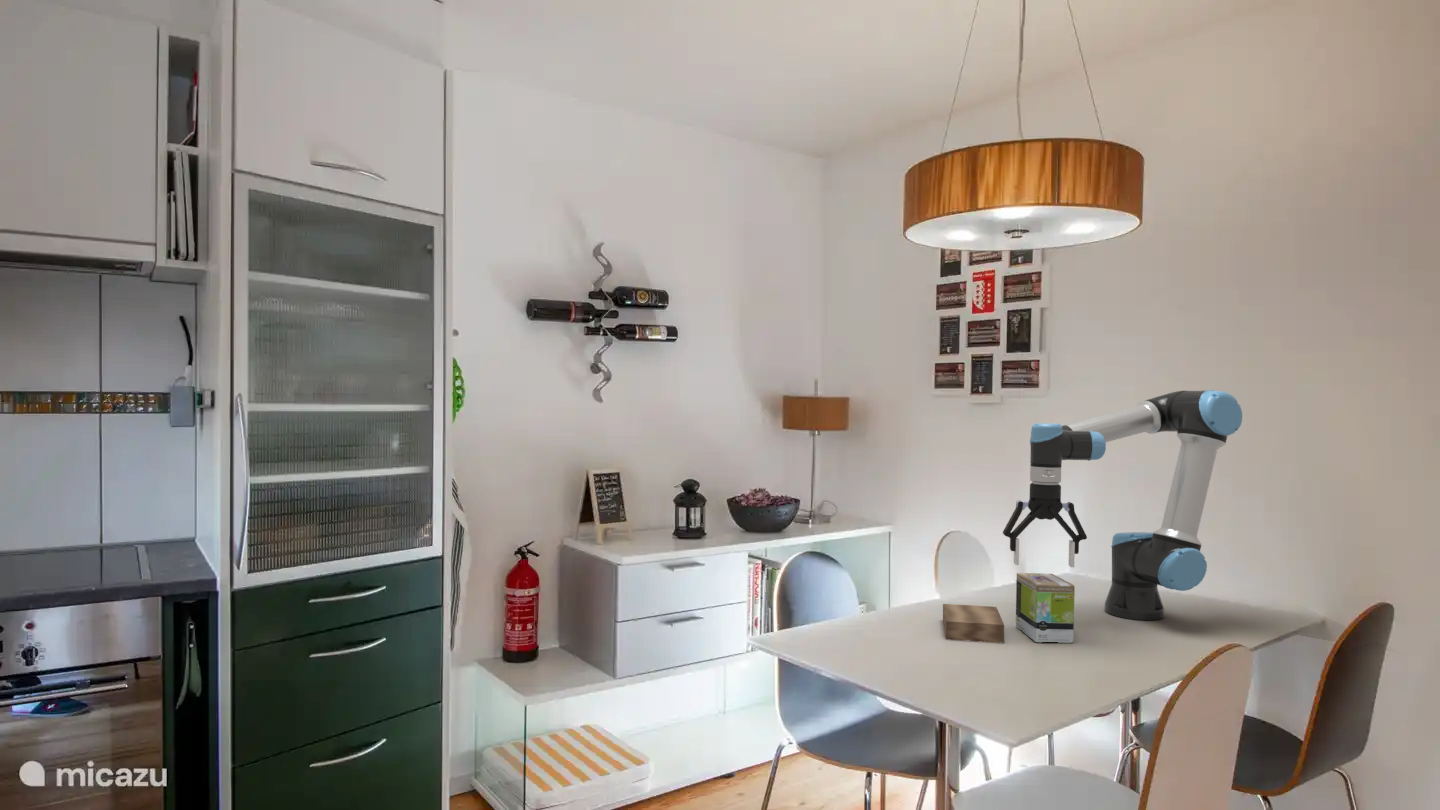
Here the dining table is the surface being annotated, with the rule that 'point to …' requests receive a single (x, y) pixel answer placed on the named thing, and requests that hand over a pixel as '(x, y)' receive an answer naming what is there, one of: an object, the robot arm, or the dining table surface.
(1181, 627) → the dining table surface
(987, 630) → the walnut block
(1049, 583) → the tea box
